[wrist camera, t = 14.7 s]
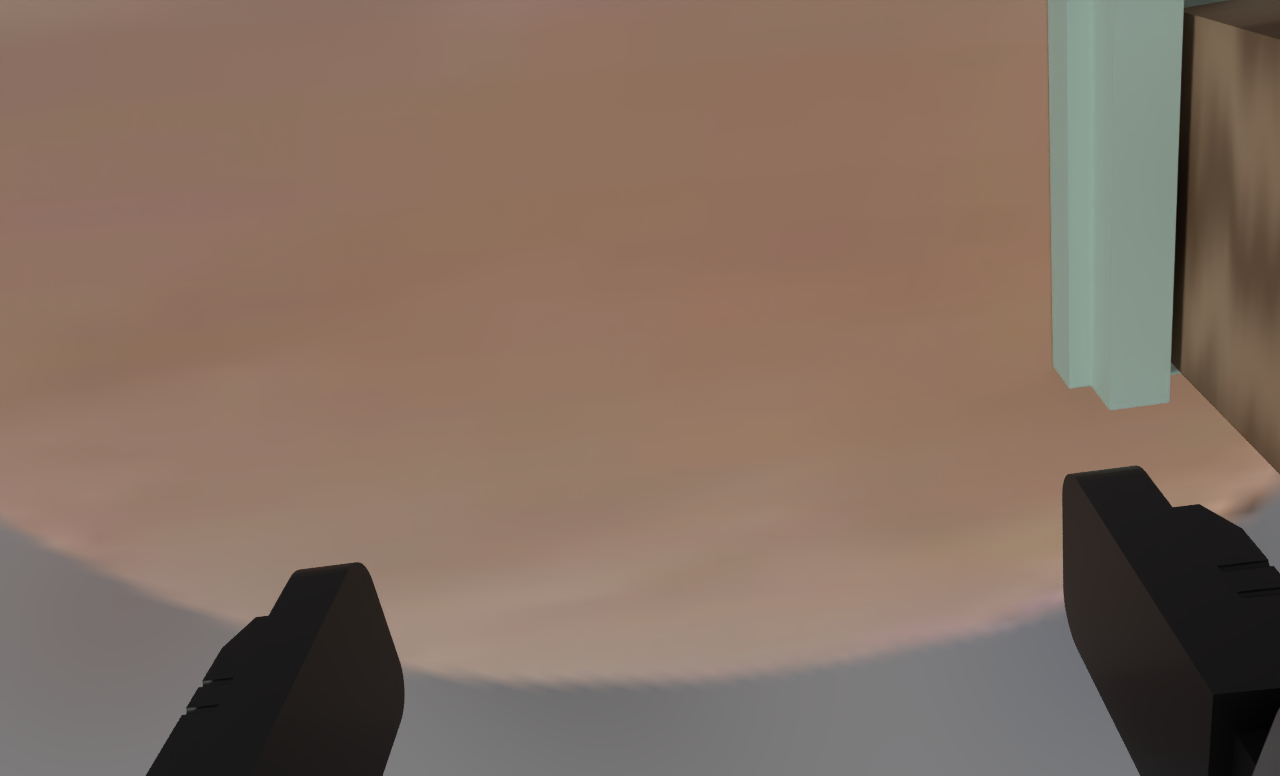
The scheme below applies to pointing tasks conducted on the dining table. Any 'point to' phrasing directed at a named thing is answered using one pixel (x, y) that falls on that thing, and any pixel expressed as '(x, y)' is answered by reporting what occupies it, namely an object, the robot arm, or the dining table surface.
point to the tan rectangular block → (1230, 216)
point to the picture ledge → (1114, 193)
